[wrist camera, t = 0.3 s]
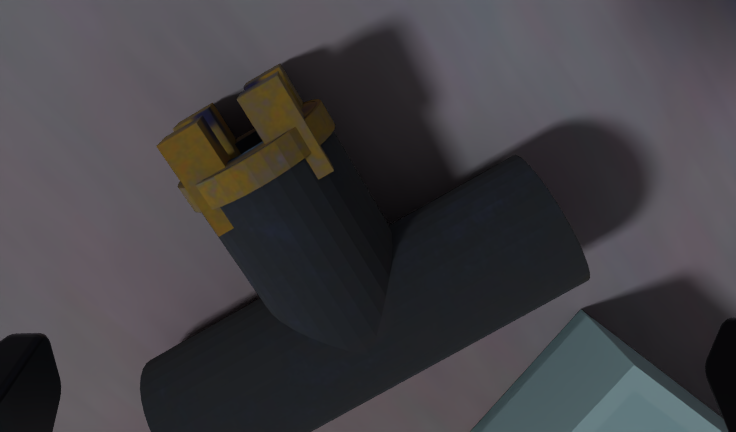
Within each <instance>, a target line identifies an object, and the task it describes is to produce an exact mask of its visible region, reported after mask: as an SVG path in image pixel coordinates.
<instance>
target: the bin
mask: <svg viewBox="0 0 736 432" xmlns="http://www.w3.org/2000/svg"><path fill="white" fill-rule="evenodd" d="M470 432H728V429H727V427H726V425H725V422H724V420H723V418H722V417H720V416H719V415H718V414H716V413H715V412H714V411H713V410H711V409H710V408H709V407H707V406H706V405H705V404H703V403H702V402H701V401H700V400H698V399H697V398H696V397H694V396H693V395H692V394H690V393H689V392H688V391H687V390H685V389H684V388H683V387H681V386H680V385H679V384H677V383H676V382H675V381H674V380H672V379H671V378H670V377H668V376H667V375H666V374H664V373H663V372H662V371H661V370H659V369H658V368H657V367H655V366H654V365H653V364H651V363H650V362H649V361H648V360H646V359H645V358H644V357H642V356H641V355H640V354H638V353H637V352H636V351H635V350H633V349H632V348H631V347H629V346H628V345H627V344H625V343H624V342H623V341H622V340H620V339H619V338H618V337H616V336H615V335H614V334H612V333H611V332H610V331H609V330H607V329H606V328H605V327H603V326H602V325H601V324H599V323H598V322H597V321H596V320H594V319H593V318H592V317H590V316H589V315H588V314H586V313H585V312H584V311H583V310H580V311H579V312H578V313H577V314H576V315H575V316H574V317H573V319H572V320H571V321H570V322H569V323H568V324H567V325H566V326H565V327H564V328H563V330H562V331H561V332H560V333H559V334H558V335H557V336H556V337H555V338H554V340H553V341H552V342H551V343H550V344H549V345H548V346H547V347H546V348H545V349H544V351H543V352H542V353H541V354H540V355H539V356H538V357H537V358H536V359H535V361H534V362H533V363H532V364H531V365H530V366H529V367H528V368H527V369H526V371H525V372H524V373H523V374H522V375H521V376H520V377H519V378H518V379H517V380H516V382H515V383H514V384H513V385H512V386H511V387H510V388H509V389H508V390H507V392H506V393H505V394H504V395H503V396H502V397H501V398H500V399H499V400H498V402H497V403H496V404H495V405H494V406H493V407H492V408H491V409H490V410H489V411H488V413H487V414H486V415H485V416H484V417H483V418H482V419H481V420H480V421H479V423H478V424H477V425H476V426H475V427H474V428H473V429H472V430H471V431H470Z"/></svg>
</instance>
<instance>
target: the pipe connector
mask: <svg viewBox="0 0 736 432" xmlns="http://www.w3.org/2000/svg"><path fill="white" fill-rule="evenodd" d="M244 90H245V91H243V92H241V93H240V94H239V96H238V98H237V101H238V102H239V104H240V106H241V107H242V109H243V110H244V112H245V114H246V115H247V117H248V118H249V120H250V122H251V123H252V125H253V126H254V129H253V130H251V131H249V132H247V133H246V134H244V135H242V136H241V137H239V138H237V139H236V138H235V137H234V135H233V134H232V132H231V131H230V129H229V127H228V126H227V124H226V123H225V121H224V120H223V118H222V117H221V115H220V113H219V112H218V110H217V109H216V107H215V106H214V104H213V103H211V104H210V105H208V106H206V107H205V108H203V109H201V110H199V111H198V112H196V113H194V114H193V115H191V116H189V117H188V118H186V119H184V120H182V121H181V122H179V123H178V124H177V125H176V126H175V127H174V128H173V131H174V132H173V133H171V134H170V135H168V136H166V137H165V138H164V139H163V140H162V141H161V142H160V143H159V144H158V145H157V148H158V149H159V151H160V152H161V154H162V155H163V157H164V158H165V159H166V161H167V162H168V164H169V165H170V167H171V168H172V170H173V171H174V173H175V174H176V175H177V177H178V178H179V180H180V182H179V184H178V188H179V189H180V191H181V192H182V193H183V195H184V196H185V198H186V199H187V201H188V202H189V204H190V205H191V206H192V208H193V209H194V211H195V212H199V213H201V212H202V214H203V215H204V217H205V218H206V220H207V221H208V223H209V224H210V225H211V227H212V228H213V230H214V231H215V233H216V234H217V236H218V237H219V238H220V240H221V241H222V243H223V244H224V246H225V247H226V249H227V250H228V252H229V253H230V254H231V256H232V257H233V259H234V260H235V262H236V263H237V265H238V266H239V268H240V269H241V270H242V272H243V273H244V275H245V276H246V278H247V279H248V281H249V282H250V284H251V285H252V286H253V288H254V289H255V291H256V292H257V294H258V295H259V297H260V299H258V300H256V301H255V302H253V303H251V304H249V305H248V306H246V307H244V308H242V309H240V310H239V311H237V312H235V313H233V314H232V315H230V316H228V317H226V318H224V319H223V320H221V321H219V322H217V323H216V324H214V325H212V326H210V327H208V328H207V329H205V330H203V331H201V332H200V333H198V334H196V335H194V336H192V337H191V338H189V339H187V340H185V341H184V342H182V343H180V344H178V345H176V346H175V347H173V348H171V349H169V350H168V351H166V352H164V353H162V354H161V355H159V356H157V357H155V358H153V359H152V360H150V361H149V362H148V363H146V365H145V367H144V368H143V371H142V375H141V381H140V392H141V401H142V405H143V410H144V414H145V417H146V420H147V423H148V426H149V428H150V430H151V432H311V431H313V430H315V429H317V428H319V427H320V426H322V425H324V424H326V423H328V422H330V421H331V420H333V419H335V418H337V417H339V416H341V415H342V414H344V413H346V412H348V411H350V410H352V409H353V408H355V407H357V406H359V405H361V404H363V403H364V402H366V401H368V400H370V399H372V398H374V397H375V396H377V395H379V394H381V393H383V392H385V391H386V390H388V389H390V388H392V387H394V386H396V385H397V384H399V383H401V382H403V381H405V380H407V379H408V378H410V377H412V376H414V375H416V374H418V373H419V372H421V371H423V370H425V369H427V368H429V367H430V366H432V365H434V364H436V363H438V362H439V361H441V360H443V359H445V358H447V357H449V356H450V355H452V354H454V353H456V352H458V351H460V350H461V349H463V348H465V347H467V346H469V345H471V344H472V343H474V342H476V341H478V340H480V339H482V338H483V337H485V336H487V335H489V334H491V333H493V332H494V331H496V330H498V329H500V328H502V327H504V326H505V325H507V324H509V323H511V322H513V321H515V320H516V319H518V318H520V317H522V316H524V315H526V314H527V313H529V312H531V311H533V310H535V309H537V308H538V307H540V306H542V305H544V304H546V303H548V302H549V301H551V300H553V299H555V298H557V297H559V296H560V295H562V294H564V293H566V292H568V291H570V290H571V289H573V288H575V287H577V286H579V285H581V284H582V283H584V282H586V281H588V280H589V278H590V272H589V268H588V264H587V261H586V259H585V256H584V253H583V251H582V249H581V247H580V244H579V242H578V240H577V238H576V236H575V234H574V232H573V230H572V228H571V227H570V225H569V223H568V221H567V219H566V218H565V216H564V214H563V212H562V211H561V209H560V208H559V206H558V204H557V203H556V201H555V199H554V198H553V196H552V195H551V193H550V192H549V190H548V189H547V188H546V186H545V185H544V183H543V182H542V181H541V179H540V178H539V177H538V175H537V174H536V173H535V172H534V171H533V169H532V168H531V167H530V166H529V165H528V164H527V163H526V162H525V161H524V160H523V159H522V158H520V157H519V156H517V155H514V156H512V157H510V158H508V159H507V160H505V161H503V162H501V163H500V164H498V165H496V166H494V167H493V168H491V169H489V170H487V171H485V172H484V173H482V174H480V175H478V176H477V177H475V178H473V179H471V180H469V181H468V182H466V183H464V184H462V185H461V186H459V187H457V188H455V189H453V190H452V191H450V192H448V193H446V194H445V195H443V196H441V197H439V198H437V199H436V200H434V201H432V202H430V203H429V204H427V205H425V206H423V207H421V208H420V209H418V210H416V211H414V212H413V213H411V214H409V215H407V216H406V217H404V218H402V219H400V220H398V221H397V222H395V223H393V224H391V225H390V226H388V224H387V222H386V221H385V219H384V217H383V215H382V214H381V212H380V210H379V209H378V207H377V205H376V203H375V202H374V200H373V198H372V197H371V195H370V193H369V191H368V190H367V188H366V186H365V185H364V183H363V181H362V179H361V178H360V176H359V174H358V173H357V171H356V169H355V167H354V166H353V164H352V162H351V161H350V159H349V157H348V155H347V154H346V152H345V150H344V149H343V147H342V145H341V143H340V142H339V140H338V138H337V137H336V135H335V133H334V131H333V130H334V129H335V124H334V122H333V120H332V119H331V117H330V115H329V113H328V112H327V110H326V108H325V107H324V105H323V103H322V101H321V100H320V99H314V100H310V101H307V102H304V103H303V101H302V100H301V98H300V96H299V95H298V93H297V91H296V89H295V88H294V86H293V84H292V83H291V81H290V79H289V78H288V76H287V74H286V73H285V71H284V69H283V67H282V66H281V64H278V65H276V66H274V67H273V68H271V69H269V70H268V71H266V72H264V73H263V74H261V75H259V76H257V77H256V78H254V79H252V80H251V81H249V82H247V83H246V84H245V86H244Z"/></svg>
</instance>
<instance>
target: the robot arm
mask: <svg viewBox="0 0 736 432" xmlns="http://www.w3.org/2000/svg"><path fill="white" fill-rule="evenodd" d="M705 369H706V376H707V380H708V382H709V385H710V387H711V390H712V392H713V395H714V397H715V400H716V402H717V405H718V407H719V410H720V412H721V415H722V417H723V420H724V422H725V425H726V427H727V429H728V432H736V318H730V319H727V320H726V321H725V322H724V323H722V325H721V327H720V329H719V332H718V334H717V336H716V339H715V341H714V343H713V346H712V348H711V350H710V353H709V355H708V357H707V360H706V366H705ZM60 395H61V381H60V377H59V373H58V370H57V366H56V362H55V359H54V355H53V351H52V348H51V344H50V341H49V339H48V338H47V336H46V335H44V334H42V333H21V334H11V335H9V336H7V337H6V338H4V339H3V340H1V341H0V432H52V431H53V427H54V422H55V418H56V414H57V410H58V405H59V401H60Z"/></svg>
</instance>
